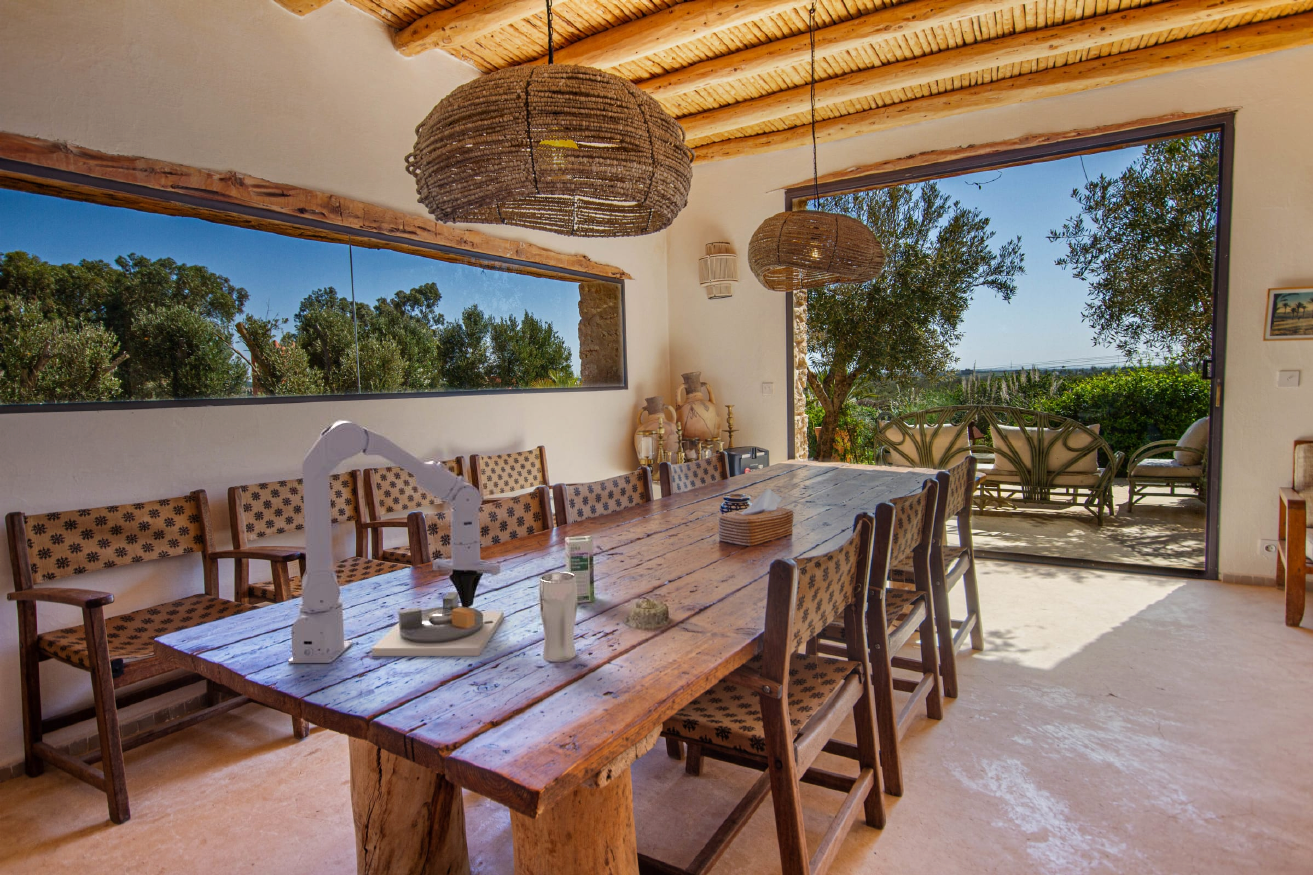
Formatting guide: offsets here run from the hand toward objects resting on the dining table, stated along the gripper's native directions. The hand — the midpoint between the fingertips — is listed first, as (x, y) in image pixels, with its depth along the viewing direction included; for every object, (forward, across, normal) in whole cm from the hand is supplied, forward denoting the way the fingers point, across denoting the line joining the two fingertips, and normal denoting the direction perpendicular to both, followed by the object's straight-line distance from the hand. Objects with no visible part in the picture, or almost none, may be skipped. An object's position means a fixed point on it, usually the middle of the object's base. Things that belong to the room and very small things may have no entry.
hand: (467, 605), depth 143 cm
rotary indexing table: (+3, +2, +6) cm, 7 cm away
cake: (+5, -35, -13) cm, 38 cm away
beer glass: (+5, -24, +9) cm, 26 cm away
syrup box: (+5, -16, -22) cm, 28 cm away
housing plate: (+4, +2, +6) cm, 8 cm away
